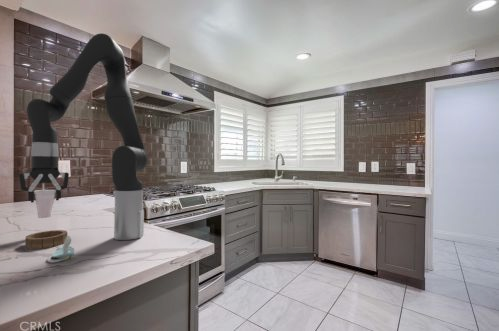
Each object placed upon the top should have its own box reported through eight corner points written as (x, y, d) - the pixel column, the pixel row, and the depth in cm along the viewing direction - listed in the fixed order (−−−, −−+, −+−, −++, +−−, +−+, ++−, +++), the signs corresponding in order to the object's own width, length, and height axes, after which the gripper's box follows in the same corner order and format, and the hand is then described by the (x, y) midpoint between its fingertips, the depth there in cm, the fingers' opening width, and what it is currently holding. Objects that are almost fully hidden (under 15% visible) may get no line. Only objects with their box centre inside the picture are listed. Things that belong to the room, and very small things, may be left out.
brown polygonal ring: (72, 237, 85) (72, 229, 85) (56, 247, 74) (56, 238, 74) (38, 239, 82) (38, 231, 82) (16, 250, 72) (17, 240, 72)
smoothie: (42, 215, 89) (42, 178, 89) (60, 214, 90) (60, 178, 90) (28, 219, 83) (28, 179, 83) (47, 218, 84) (47, 178, 84)
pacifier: (45, 266, 61) (74, 260, 65) (45, 242, 61) (74, 238, 65) (48, 257, 67) (74, 252, 71) (47, 235, 67) (74, 231, 71)
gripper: (68, 156, 94) (68, 198, 94) (17, 155, 84) (17, 202, 84) (71, 155, 89) (71, 200, 89) (17, 154, 79) (17, 204, 79)
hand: (45, 201), depth 86 cm, fingers closed on smoothie, 6 cm apart
